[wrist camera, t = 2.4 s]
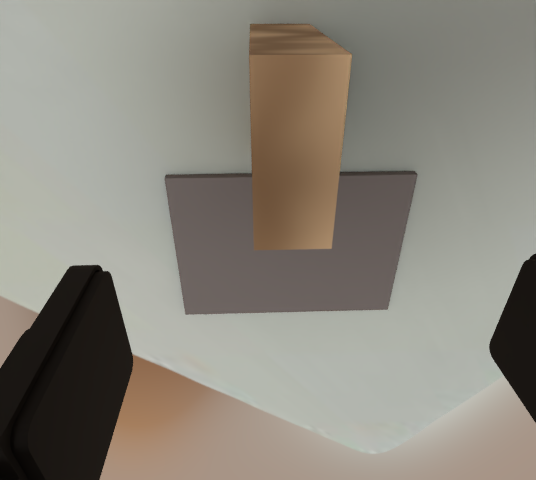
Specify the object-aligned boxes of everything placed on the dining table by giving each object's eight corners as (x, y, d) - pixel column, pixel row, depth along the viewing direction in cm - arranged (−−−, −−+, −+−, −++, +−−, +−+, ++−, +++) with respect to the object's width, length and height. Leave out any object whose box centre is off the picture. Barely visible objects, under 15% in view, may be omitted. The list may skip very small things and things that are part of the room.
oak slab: (310, 23, 24) (353, 54, 14) (303, 152, 28) (332, 248, 18) (250, 23, 23) (249, 55, 13) (253, 153, 28) (253, 250, 18)
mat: (414, 171, 29) (417, 174, 28) (385, 304, 36) (387, 309, 36) (166, 174, 28) (164, 178, 28) (186, 309, 35) (185, 314, 35)
